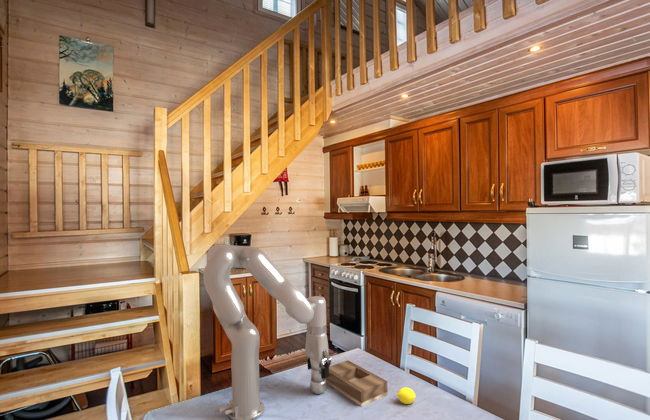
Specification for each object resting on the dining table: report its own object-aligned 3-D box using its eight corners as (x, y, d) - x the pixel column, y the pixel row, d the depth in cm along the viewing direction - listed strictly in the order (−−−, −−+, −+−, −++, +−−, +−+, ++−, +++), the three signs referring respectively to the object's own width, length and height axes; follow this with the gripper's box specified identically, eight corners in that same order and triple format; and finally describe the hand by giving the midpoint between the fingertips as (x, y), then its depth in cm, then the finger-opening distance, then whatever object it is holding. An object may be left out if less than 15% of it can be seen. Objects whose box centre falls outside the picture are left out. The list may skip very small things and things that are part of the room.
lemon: (412, 399, 131) (414, 385, 131) (417, 407, 126) (418, 392, 126) (394, 398, 131) (395, 383, 131) (397, 406, 125) (399, 391, 126)
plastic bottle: (327, 387, 141) (326, 337, 141) (326, 396, 134) (324, 343, 134) (311, 387, 142) (310, 337, 142) (309, 396, 135) (307, 343, 135)
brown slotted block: (361, 406, 127) (361, 391, 127) (323, 380, 146) (323, 368, 146) (387, 394, 134) (387, 381, 134) (348, 372, 154) (348, 360, 154)
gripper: (297, 325, 143) (298, 367, 143) (321, 337, 129) (322, 384, 129) (313, 321, 147) (314, 362, 147) (337, 332, 133) (339, 378, 133)
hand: (318, 372), depth 138 cm, fingers open, 9 cm apart
